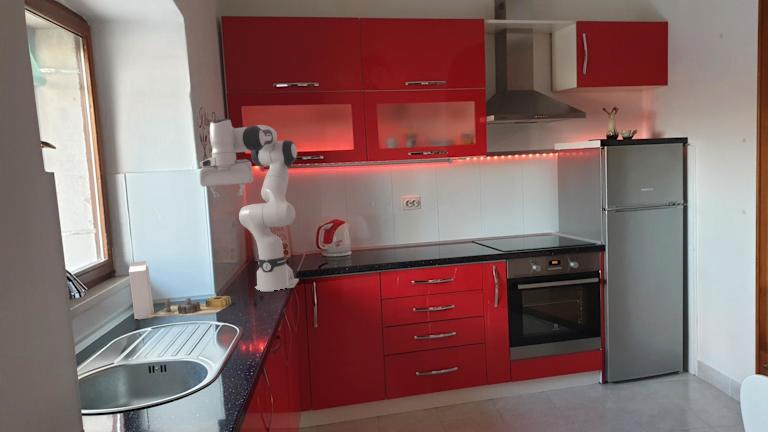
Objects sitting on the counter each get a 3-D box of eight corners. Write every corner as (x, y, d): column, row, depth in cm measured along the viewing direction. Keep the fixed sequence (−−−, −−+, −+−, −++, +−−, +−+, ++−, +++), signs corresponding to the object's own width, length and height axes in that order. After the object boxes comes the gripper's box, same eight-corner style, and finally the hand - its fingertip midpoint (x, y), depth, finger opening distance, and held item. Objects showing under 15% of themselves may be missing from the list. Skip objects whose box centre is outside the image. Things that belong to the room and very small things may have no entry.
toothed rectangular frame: (213, 303, 208) (212, 296, 207) (231, 303, 206) (230, 295, 206) (205, 308, 202) (204, 300, 201) (224, 307, 200) (223, 299, 200)
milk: (151, 317, 199) (144, 262, 197) (134, 320, 198) (127, 263, 196) (154, 313, 205) (147, 259, 203) (137, 316, 204) (131, 261, 202)
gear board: (172, 308, 211) (170, 293, 210) (232, 307, 205) (230, 291, 205) (148, 320, 196) (146, 303, 196) (213, 318, 191) (211, 301, 190)
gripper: (253, 158, 201) (257, 194, 203) (202, 163, 203) (206, 198, 204) (248, 158, 195) (252, 194, 196) (195, 163, 196) (200, 199, 198)
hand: (228, 196), depth 200 cm, fingers open, 8 cm apart
